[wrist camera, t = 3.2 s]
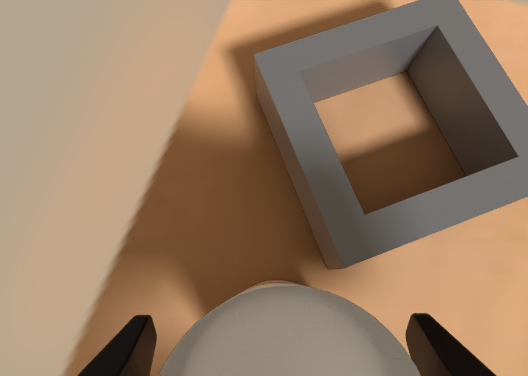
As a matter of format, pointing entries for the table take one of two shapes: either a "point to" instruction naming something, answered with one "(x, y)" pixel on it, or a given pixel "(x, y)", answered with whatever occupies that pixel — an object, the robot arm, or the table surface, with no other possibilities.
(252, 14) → the table surface
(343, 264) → the grey square frame
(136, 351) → the robot arm
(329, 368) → the steel shaft
